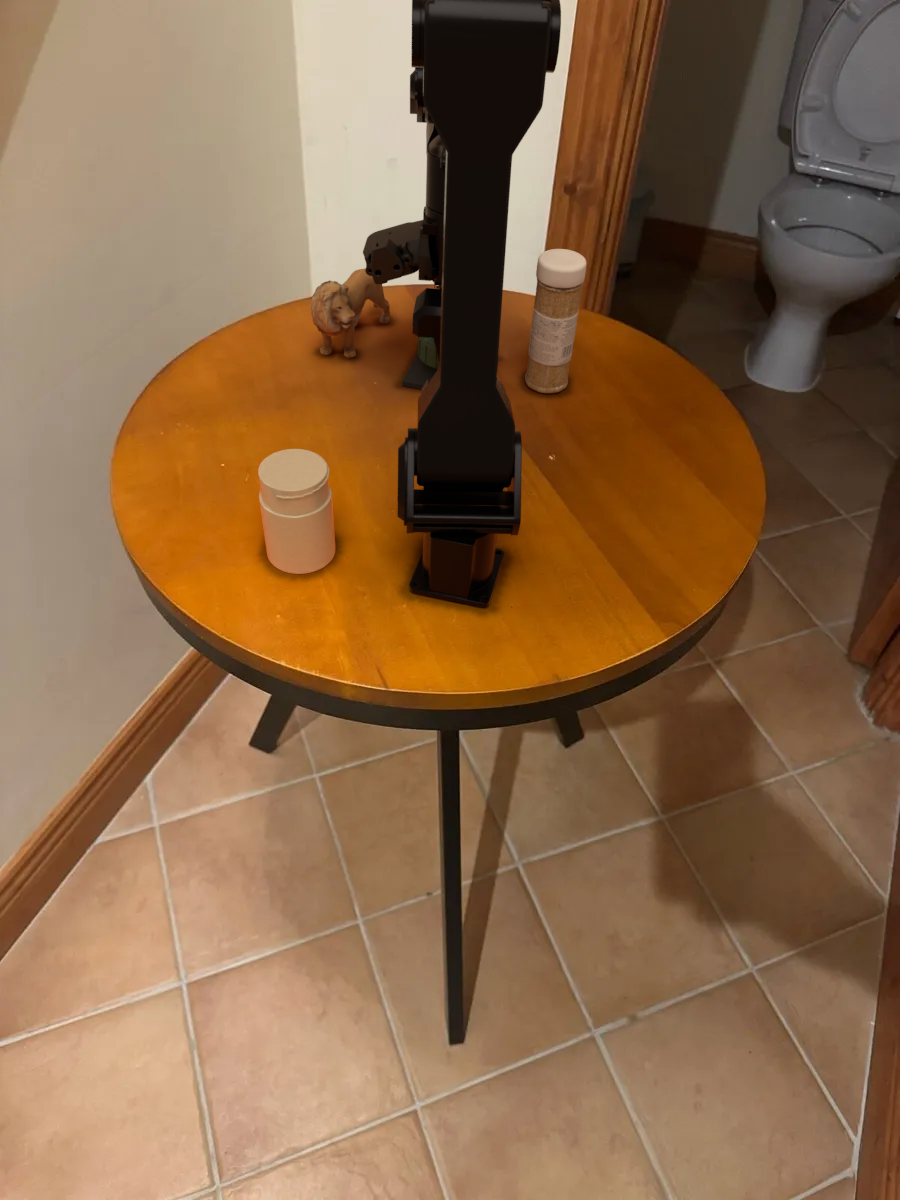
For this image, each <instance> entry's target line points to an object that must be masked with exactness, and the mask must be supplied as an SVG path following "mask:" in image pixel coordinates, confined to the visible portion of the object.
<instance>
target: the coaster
mask: <svg viewBox="0 0 900 1200" xmlns="http://www.w3.org/2000/svg"><path fill="white" fill-rule="evenodd" d="M437 370H438V369H435V368H432V367H430V366H428V365H426V364H425V363H424V362H422V361H421V359H420V358H419V355H418V352H417V353H416V354H415V356H414V358H413V360H412V362H411V364H410V366H409V367H408V370H407V371H406V373H405V375H404V377H403V379H402V381H401V386H402V387H406V388H413V389H418V390H421V389H422V388H423V386H424V384H425V382H426V380H427V379H432V377H433V376H434V375H435V373H436V372H437Z"/></svg>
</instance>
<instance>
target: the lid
mask: <svg viewBox="0 0 900 1200" xmlns="http://www.w3.org/2000/svg"><path fill="white" fill-rule="evenodd" d="M416 349H417V353H418V355H419V358H420V359H421V361H422V362H424V363H425V364H426V365H428V366H430V367H432V368H435V369H439V359H438V354H437V350H436V346H435V342H434V339H433V338H427V337H417V347H416Z"/></svg>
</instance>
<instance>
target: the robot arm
mask: <svg viewBox="0 0 900 1200" xmlns="http://www.w3.org/2000/svg"><path fill="white" fill-rule="evenodd" d="M561 8H562V6H561V0H411V68H414V70H413V71H412V73H411V74H410V75H409V114H410V115H416V123H424V124H425V123H426V127H425V137H426V141H425V145H426V147H425V149H426V152H425V154H426V176H425V177H426V179H425V206H424V207H423V214H422V215H423V219H421V220H420V219H419V220H417V221H412V222H411V221H410V222H405V223H400V224H398V225H394V226H390V227H387V228H384V229H379V230H377V231H374V232H372V233H371V234H369V235H368V236H367V237H366V241H365V244H364V246H363V250H362V255H363V257H364V260H365V268H366V270H365V272H366V274H367V275H369V276H372V277H373V280H374V282H375V284H382V285H384V284H387V283H388V282H389V281H392V280H396V279H399V278H402V277H405V276H409V275H413V274H415V273H417V272H418V279H417V280H418V281H425V282H426V281H427V282H428V281H429V282H432V283H433V288H431V287H426V288H425V289H423V290H422V291H421V292H420V293H419V294H418V295H416V297H415V301H414V306H413V312H412V331H411V333H412V334H413V335H415V336H416V337H417V338H418V337H427V338H433V339H434V342H435V346H436V350H437V354H438V359H439V369H438V370H437V372H436V373H435V375H434V376H433V377H432V379H427V380H426V382H425V384H424V386H423V388H422V389H420V394H419V396H418V398H417V416H416V417H417V420H416V421H417V424H416V426H417V427H413V428H412V427H408V428H407V436H405V437H404V442H403V443H402V444H401V445H400V446H398V448H397V518H398V519H400V520H402V521H403V526H404V527H406V534H409V535H410V534H411V535H413V534H414V533H423V535H422V536H423V537H422V539H423V540H422V553H420V554H421V555H420V556H419V559H418V562H417V564H416V567H415V569H414V572H413V574H412V576H411V579H410V582H409V585H408V586H409V587H408V588H409V591H410V593H413V594H414V593H415V594H418V595H422V596H426V597H427V596H428V597H432V598H437V599H441V600H446V601H451V602H456V603H460V604H466V605H471V606H475V607H479V608H486V607H488V606H489V605H490V603H491V600H492V597H493V594H494V591H495V587H496V584H497V582H498V577H499V575H500V572H501V568H502V566H503V565H502V564H503V563H504V558H505V551H504V550H503V549H501V548H497V537H498V535H510V536H518V535H519V532H520V528H521V523H522V522H521V521H522V470H523V469H522V467H523V465H522V464H523V463H522V462H523V461H522V460H523V459H522V457H523V455H522V454H523V444H522V441H523V440H522V433H521V430H516V423H515V418H514V414H513V408H512V403H511V399H510V397H509V396H508V393H507V391H506V388H505V387H504V384H503V382H502V381H501V380H500V379H499V377H498V367H499V366H498V365H499V352H500V351H499V349H500V335H501V324H502V323H501V322H502V306H503V292H504V277H505V264H506V251H507V250H506V249H507V237H508V236H507V234H508V222H509V221H508V220H509V207H510V206H509V205H510V194H511V193H510V191H511V190H510V189H511V177H512V164H513V163H512V162H513V155H514V153H515V152H516V150H517V148H518V146H519V145H520V144H521V142H522V140H523V139H524V137H525V136H526V134H527V133H528V131H529V130H530V128H531V126H532V125H533V123H534V121H535V120H536V118H537V117H538V115H539V113H540V112H541V110H542V108H543V104H544V97H545V96H544V94H545V85H546V77H547V73H548V74H554V72H555V71H556V68H557V64H558V57H559V50H560V43H561V42H560V40H561V28H562V26H561V25H562V9H561ZM415 477H416V484H417V485H418V487H422V489H415ZM505 488H506V490H504V489H505Z"/></svg>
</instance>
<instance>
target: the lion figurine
mask: <svg viewBox="0 0 900 1200" xmlns="http://www.w3.org/2000/svg"><path fill="white" fill-rule="evenodd" d="M365 270H366V267H365V268H359V269H356V270H354V271H353V272H351V274H350V275H349V277H348V278H347V279H346V280H345V281H344V282H343V283H342V284H341V283H339V282H338V281H336V280H328V281H324V282H322V283H321V284H320V285H318V286H317V287H316V288H315V290H314V292H313V294H312V298H311V302H312V303H311V307H310V310H311V317H312V323H313V325H314V326H316V329H317V331H318V332H319V333H321V337H322V340H323V346H321V347H320V348H319V351H320V354H322V355H323V356H329V355H330V354H331V353H332V351H333V340H332V338H337V337H340V336H342V335H344V342H343V343H344V344H343V350H344V352H343V355H344V358H347V359H351V358H356V357H357V354H356V349H355V342H354V340H355V339H354V338H355V327H356V326H357V325H358V323H359V320H360V317H361V315H362V313H363V309H364V306H365V304H366V302H367V300H369V301H370V302H371V303H373V308H376V309H378V308H379V309H382V313H381V315H380V317H379V322H380V323H381V324H389V323H390V322H391V311H390V303H389V301H388V300H387V299H386V297H385V294H384V293H385V292H384V286H383V284H375V282H374V280H373V277H372V276H369V275H367V274H366V272H365Z"/></svg>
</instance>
